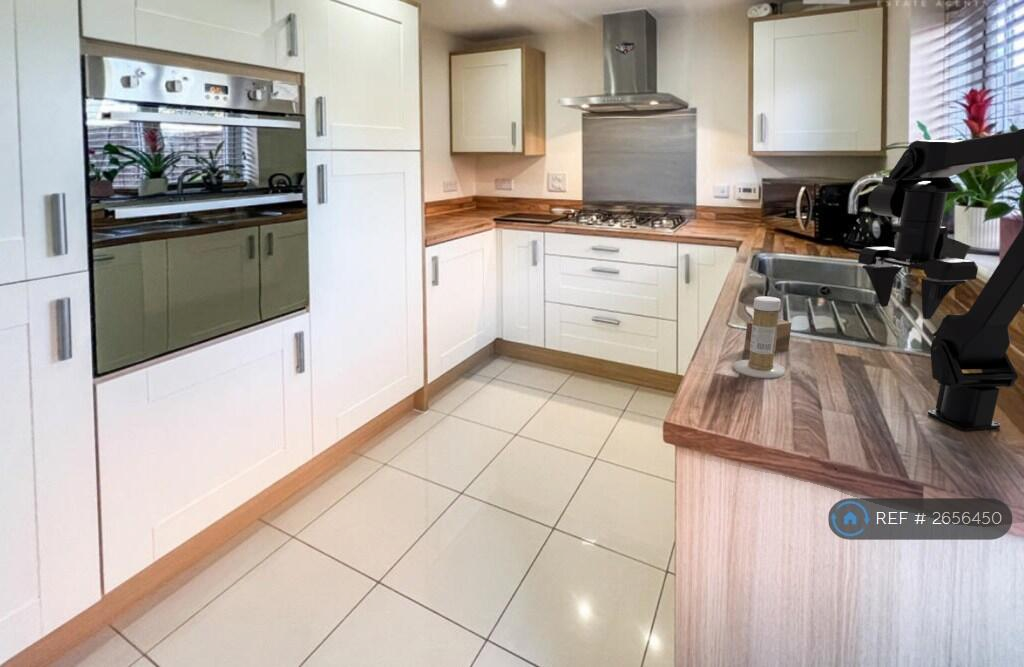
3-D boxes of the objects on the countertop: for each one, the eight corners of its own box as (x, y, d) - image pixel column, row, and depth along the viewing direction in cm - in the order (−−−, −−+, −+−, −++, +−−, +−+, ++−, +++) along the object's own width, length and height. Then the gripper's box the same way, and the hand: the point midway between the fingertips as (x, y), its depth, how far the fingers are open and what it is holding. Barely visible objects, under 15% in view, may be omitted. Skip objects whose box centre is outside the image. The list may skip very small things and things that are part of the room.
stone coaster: (794, 376, 108) (795, 373, 108) (749, 379, 107) (750, 376, 106) (767, 361, 116) (767, 358, 116) (724, 364, 115) (725, 361, 115)
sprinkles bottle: (775, 366, 112) (783, 297, 108) (769, 372, 108) (778, 302, 104) (750, 362, 114) (757, 294, 111) (744, 368, 111) (751, 299, 107)
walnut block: (788, 350, 123) (791, 322, 122) (758, 354, 120) (761, 326, 119) (773, 345, 127) (776, 318, 125) (744, 349, 124) (747, 322, 122)
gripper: (1018, 224, 88) (996, 323, 93) (917, 214, 106) (902, 298, 110) (954, 226, 87) (934, 327, 91) (862, 216, 104) (849, 301, 109)
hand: (904, 312), depth 100 cm, fingers open, 9 cm apart
